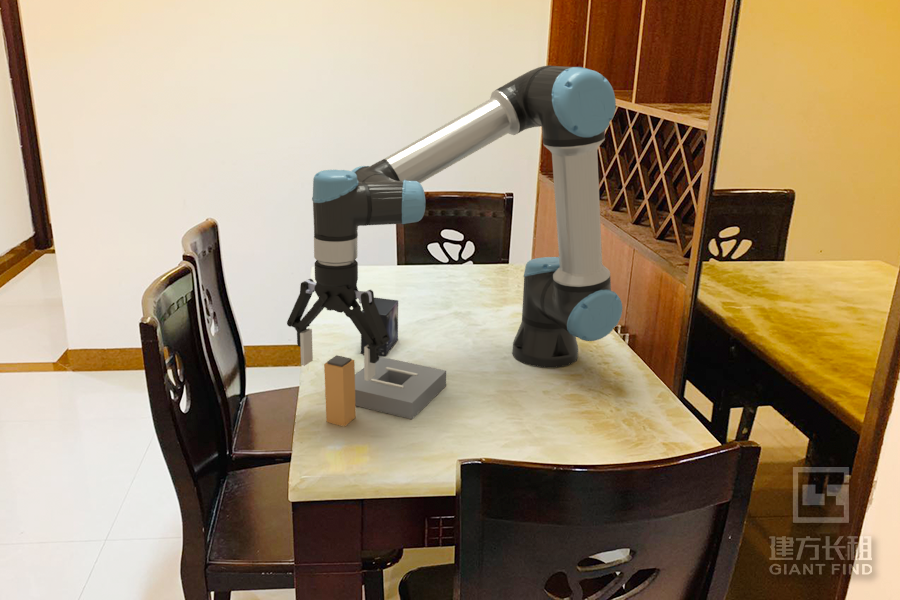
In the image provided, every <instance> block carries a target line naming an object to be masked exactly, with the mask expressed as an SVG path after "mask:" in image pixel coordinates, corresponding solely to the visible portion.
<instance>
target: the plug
mask: <svg viewBox="0 0 900 600" xmlns="http://www.w3.org/2000/svg"><path fill="white" fill-rule="evenodd" d="M323 365H324V366H323V367H324V369H323V370H324V371H323V372H324V392H325V394H324V395H325V396H324V397H325V413H326V415H325V416H326V417H325V419H326V420H325V421H326V423H329V424H332V425H335V426H341V427H346V426H347V425H348V424H350V423H351V422H352V421H353V420H354V419H356V417H357V416H356V413H357V412H356V411H357V410H356V408H357V406H355V374H356V372H355V371H356V370H355V359H352V358H351V357H346V356H342V355H337V354H336V355H335V356H333V357H332V358H330V359H329V360H327V361H326V362H325V363H323Z"/></svg>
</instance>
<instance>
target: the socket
mask: <svg viewBox="0 0 900 600" xmlns="http://www.w3.org/2000/svg"><path fill="white" fill-rule="evenodd" d="M446 386H447V370H445V369H440V368H437V367H431V366H427V365H421V364H417V363H412V362H409V361H404V360H398V359H393V358H389V357H385V356H379V360H378V361H377V362H376V363H375V376H374V377H373V378H371V379H370V380H369V381H366V380H364V367H363V368H361V369H360V370H359V371H357V372H355V407H360V408H363V409H368V410H372V411H376V412H380V413H385V414H389V415H393V416H397V417H401V418H405V419H409V420H413V419H414V418H415V417H416V415H418V414H419V413H420V412H421V411H422V410H423V409H424V408H425V407H426V406H427V405H428V404H429V403H430V402H431V401H433V399H434V398H435V397H436V396H437V395H438V394H439V393H440V392H441V391H442V390H443V389H444V388H446Z"/></svg>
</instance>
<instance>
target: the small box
mask: <svg viewBox="0 0 900 600" xmlns="http://www.w3.org/2000/svg"><path fill="white" fill-rule="evenodd" d="M374 302H375V305H376V307H377V309H378V312H379V314H380V316H381V319H382V321H383V324H384V326H385V328H386V331H387V333H388V335H389V338H390V340H389V341H388V342H387V343H385V344H384V345H382V346H379V356H380V357H386V356H387V355H388V354H389V352H390V351H391V349H392V348H394V346H395V345H396V344H397V342H398V340H399V300H397V299H389V298H383V297H381V298H380V297H374ZM361 311H362V313H363V314H364V315H365V313H364V311H363V309H361ZM365 317H366V316H365ZM366 345H368V344H367V342H366V341H365V339H364V338H363V337H362V335H361V334H360V354H362V355H364V347H365V346H366Z"/></svg>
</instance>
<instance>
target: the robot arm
mask: <svg viewBox="0 0 900 600" xmlns="http://www.w3.org/2000/svg"><path fill="white" fill-rule="evenodd" d="M616 104H617V103H616V96H615V91H614V88H613V86H612V85H611V83H610V82H609V80H608V79H607V77H605V76H603V74H601V72H600V73H599V72H598V71H596V70H592V69H589V68H586V67H582V66H562V65H561V66H558V65H543V66H538V67H537V68H533V69H532V70H528V71H527V72H526V73H523V74H522V75H519V76H518V77H516V78H514V79H512V80H510V81H509V82H507V83H505V84H504V85H502V86H500V87H499V88H497V89H495V90H493V91H492V92H491V94H490V96H489V99H488V100H486V101H485V102H482V103H481V104H479V105H477V106H476V107H473V108H472V109H470V110H468V111H467V112H465V113H463V114H461V115H460V116H458V117H456V118H454V119H452V120H450V121H448V122H447V123H445V124H444V125H441V126H439V127H438V128H436V129H435V130H433V131H431V132H429V133H427V134H426V135H424V136H422V137H420V138H418V139H417V140H415V141H414V142H411V143H410V144H408V145H406V146H404V147H403V148H401V149H398V150H397V151H395V152H394V153H392V154H390V155H389V156H387V157H385V158H383V159H381V160H379V161H377V162H375V163H374V164H372V165H367V166H366V165H361V166H357V167H355V168H353V169H352V170H345V169H327V170H326V169H325V170H321V171H318V172H316V173H315V175H314V176H313V180H312V198H311V201H312V211H313V213H312V214H313V251H314V252H313V253H314V254H313V258H314V259H315V262H314V280H315V282H314V280H313V279H312V278H309V279H306V280H303V281H302V282H300V284H299V285H300V287H299V294H298V297H297V298H296V302H295V303H294V306H293V309H292V310H291V312H290V314H289V317H288V318H287V321H286V325H287V326H288V327H290V328H291V327H292V328H294V329H295V331H296V344H297V346H298V347H300V365H301V366H303V367H305V366H307V365H308V364H309V363H311V362H313V361H314V358H313V356H314V355H313V353H314V352H313V329H312V328H310V326H311V324H312V323H313V321H314V320H315V319H317V317H318V315H320V313H321V312H322V311H323V310H324V309H326V310H327V311H336V312H337V313H341V314H342V313H344V315H345V316H346V317H347V318H349V319H350V321H351V323H353V325H354V326H355V328H356V329H357V331H358V332H359V334H360V336H361V335H362V337H363V338H364V339H365V341H366V342H367V344H368V345H366V346H365V347H364V354H363V355H364V357H363V358H364V359H363V362H364V365H363V368H364V380H366V381H369V380H370V379H371V378H373V377H374V376H375V363H376V362H377V361H378V360H379V346H382V345H384V344H385V343H387V342H388V341H389V340H390V338H389V335H388V333H387V331H386V328H385V326H384V324H383V321H382V319H381V316H380V314H379V312H378V309H377V307H376V305H375V302H374V298H375V295H374V291H373V290H372V289H368V290H366V291H365V290H359V289H358V284H357V283H358V279H359V277H358V276H359V269H358V268H359V267H358V265H359V263H358V261H357V258H358V236H359V235H358V233H359V232H358V228H359V227H360V226H363V227H364V226H379V225H381V226H382V225H401V224H402V225H405V224H411V223H418V222H419V221H421V220H422V219H423V217H424V215H425V212H426V194H425V190H424V187H423V186H422V184H421V183H423V182H425V181H426V180H428V179H430V178H432V177H433V176H435V175H437V174H439V173H441V172H442V171H444V170H447V169H448V168H449V167H452V166H453V165H455V164H456V163H458V162H460V161H462V160H464V159H465V158H467V157H469V156H470V155H472V154H474V153H476V152H478V151H479V150H481V149H482V148H485V147H486V146H489V145H490V144H492V143H493V142H495V141H497V140H499V139H500V138H502V137H504V136H505V135H507V134H509V135H513V136H516V135H518V134H519V133H521V132H523V131H526V130H529V129H531V128H537V127H538V128H539V127H541V132H542V133H541V135H542V144H543V146H544V147H545V148H546V149H547V150H548V151H550V153H551V161H552V163H551V164H552V174H553V175H552V176H553V188H554V190H553V191H554V202H555V204H554V205H555V215H556V216H555V217H556V218H555V219H556V232H557V233H556V234H557V235H556V236H557V245H558V246H557V247H558V256H545V257H536V258H533V259H530V260H528V261H527V263H525V268H524V273H523V293H522V312H521V323H520V325H519V327H518V330H517V332H516V335H515V337H514V339H513V342H512V349H511V350H512V351H511V353H512V355H513V357H514V358H515V359H516V360H518V361H520V362H521V363H524V364H527V365H529V366H533V367H539V368H547V369H549V368H551V369H552V368H554V369H555V368H564V367H567V366H570V365H572V364H574V363H575V362H577V361H578V357H579V345H578V341H577V338H578V339H580V340H582V341H584V342H585V341H586V342H594V341H599V340H601V339H603V338H605V337H606V336H608V335H609V334H610V333H612V331H613V330H614V328H615V327H617V326H618V324H619V322H620V320H621V318H622V313H623V303H622V300H621V297H619V295H618V294H617V292H615V291H613V290H612V286H611V285H612V284H611V283H612V282H611V271H610V269H609V268H607V267H606V266H605V265H604V264H603V255H602V253H603V251H602V230H601V208H600V207H601V206H600V203H601V202H600V182H599V161H598V148H599V147H600V146H601V145H602V143H603V142H604V141H606V140H605V139H606V135H605V133H606V132H605V131H606V129H608V127H609V126H610V122H611V120H614V117H615V113H616ZM313 293H315V294H316V295H317V298H318V299H317V300H316V301H315V302H314V304H313V305H312V307H311V308H310V309H309V310H308V311H307V313H306V314H305V315H304V313H305V310H306V309H307V306H308V304H309V302H310V300H311V297H312V296H313ZM357 300H358V301H357ZM351 308H352V309H351ZM362 310H363V311H364V313H365V315H364V314H363V313H362ZM303 315H304V316H303ZM365 316H366V317H365Z"/></svg>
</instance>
